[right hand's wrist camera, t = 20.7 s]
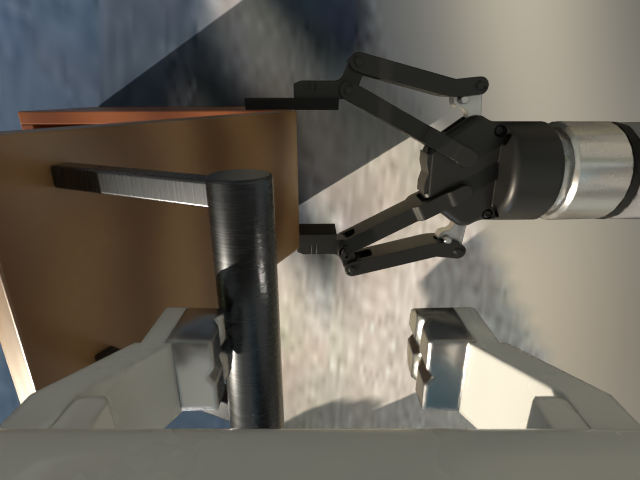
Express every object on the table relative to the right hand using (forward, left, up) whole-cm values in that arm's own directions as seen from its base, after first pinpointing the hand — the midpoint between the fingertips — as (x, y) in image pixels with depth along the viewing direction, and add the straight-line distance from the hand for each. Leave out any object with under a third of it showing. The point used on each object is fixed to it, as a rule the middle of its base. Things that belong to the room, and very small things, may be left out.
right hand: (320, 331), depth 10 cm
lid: (-3, -5, -10) cm, 12 cm away
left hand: (-2, -4, -22) cm, 22 cm away
